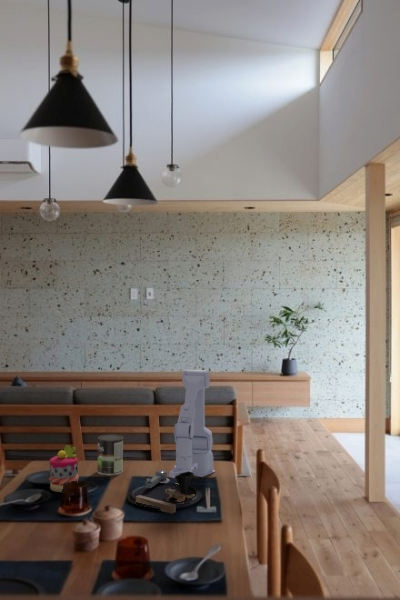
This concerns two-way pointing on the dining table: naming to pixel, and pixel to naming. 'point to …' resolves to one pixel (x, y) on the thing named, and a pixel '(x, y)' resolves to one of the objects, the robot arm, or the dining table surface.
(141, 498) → the brown wooden bar
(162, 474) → the crank
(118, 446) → the coffee can
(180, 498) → the frog figurine
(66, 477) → the cake
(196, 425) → the robot arm
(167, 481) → the crank base plate
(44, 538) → the dining table surface
